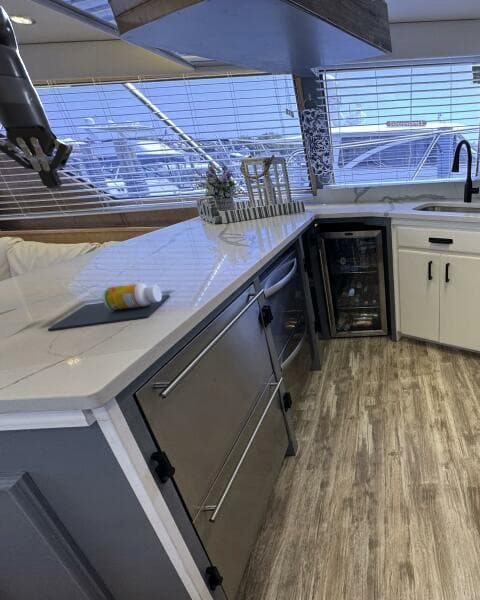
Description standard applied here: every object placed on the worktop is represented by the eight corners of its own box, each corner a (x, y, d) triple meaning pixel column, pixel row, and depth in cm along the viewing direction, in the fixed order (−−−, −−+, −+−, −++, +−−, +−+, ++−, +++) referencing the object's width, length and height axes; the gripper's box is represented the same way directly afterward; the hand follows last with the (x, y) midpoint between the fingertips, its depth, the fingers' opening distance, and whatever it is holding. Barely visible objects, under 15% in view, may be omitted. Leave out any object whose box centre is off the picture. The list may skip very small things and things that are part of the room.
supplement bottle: (112, 284, 75) (159, 279, 77) (119, 306, 76) (165, 301, 79) (98, 290, 70) (148, 284, 72) (106, 313, 71) (155, 307, 74)
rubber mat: (48, 331, 66) (47, 329, 66) (86, 306, 78) (85, 304, 78) (147, 317, 70) (147, 315, 70) (169, 296, 82) (169, 294, 82)
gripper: (66, 106, 74) (96, 186, 81) (-6, 106, 71) (32, 189, 78) (42, 100, 67) (77, 187, 74) (-39, 100, 64) (6, 191, 71)
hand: (54, 188), depth 76 cm, fingers closed
